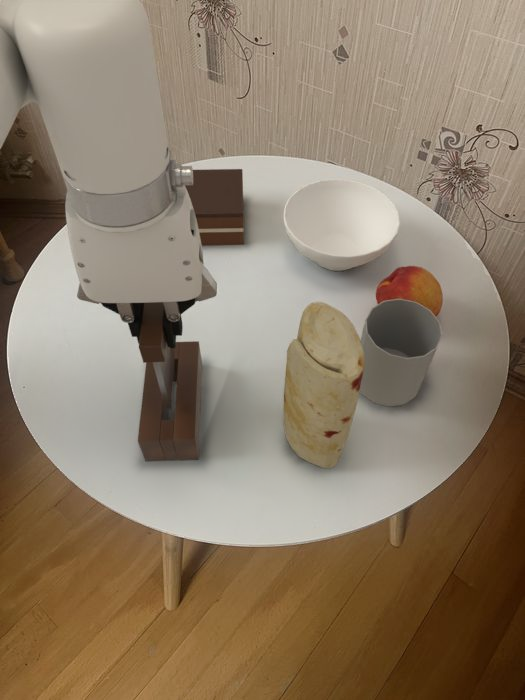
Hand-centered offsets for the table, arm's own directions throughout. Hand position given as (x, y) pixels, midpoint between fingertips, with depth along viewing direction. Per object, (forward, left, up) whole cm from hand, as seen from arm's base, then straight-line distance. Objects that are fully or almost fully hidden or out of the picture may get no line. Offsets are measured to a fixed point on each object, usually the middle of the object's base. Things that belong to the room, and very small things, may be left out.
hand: (158, 336), depth 56 cm
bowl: (+22, +26, -15) cm, 37 cm away
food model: (+16, -4, -15) cm, 22 cm away
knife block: (0, 0, -15) cm, 15 cm away
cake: (+4, +33, -15) cm, 36 cm away
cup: (+26, +4, -15) cm, 30 cm away
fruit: (+30, +14, -15) cm, 36 cm away
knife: (0, 0, -8) cm, 8 cm away
